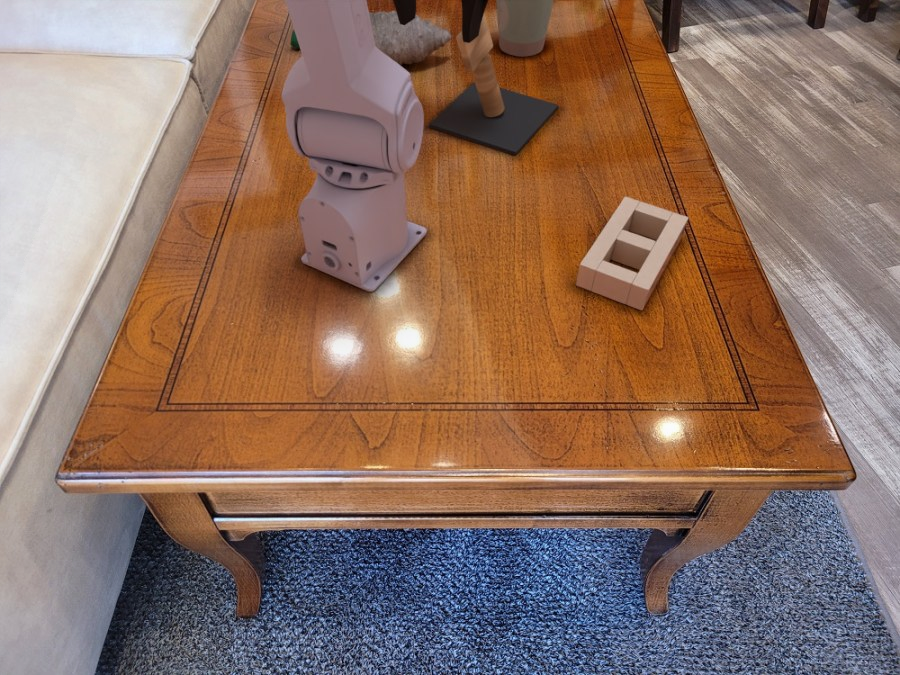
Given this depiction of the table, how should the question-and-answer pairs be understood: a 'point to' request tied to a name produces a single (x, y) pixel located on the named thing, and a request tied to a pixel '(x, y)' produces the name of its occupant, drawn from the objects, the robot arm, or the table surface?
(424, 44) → the seashell
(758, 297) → the table surface
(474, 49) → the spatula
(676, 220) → the frame
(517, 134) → the mat
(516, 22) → the coffee cup
